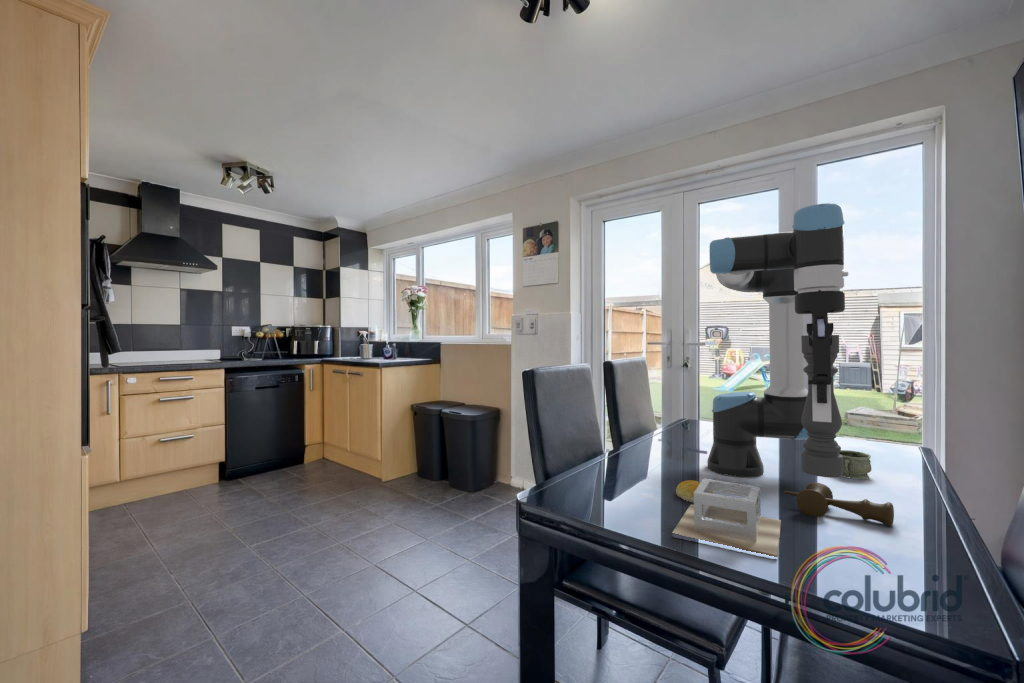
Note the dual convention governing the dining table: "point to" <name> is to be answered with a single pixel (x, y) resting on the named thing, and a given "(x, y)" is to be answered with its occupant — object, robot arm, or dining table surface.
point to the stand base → (764, 544)
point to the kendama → (840, 504)
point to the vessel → (855, 464)
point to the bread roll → (687, 490)
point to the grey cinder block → (727, 509)
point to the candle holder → (821, 423)
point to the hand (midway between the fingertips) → (821, 418)
